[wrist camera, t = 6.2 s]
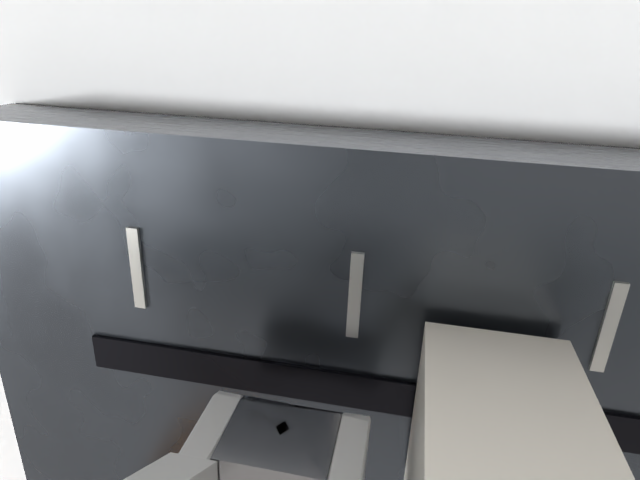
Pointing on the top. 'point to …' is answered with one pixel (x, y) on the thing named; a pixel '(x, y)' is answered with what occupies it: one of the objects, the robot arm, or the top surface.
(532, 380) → the fader
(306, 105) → the top surface
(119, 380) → the console
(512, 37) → the top surface
